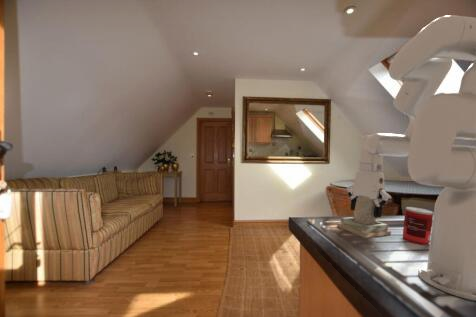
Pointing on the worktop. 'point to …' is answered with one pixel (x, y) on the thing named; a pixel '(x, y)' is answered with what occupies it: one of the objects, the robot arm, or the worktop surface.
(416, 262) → the worktop surface
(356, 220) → the carving
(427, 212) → the canned food
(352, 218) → the beige shallow tray
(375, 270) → the worktop surface
